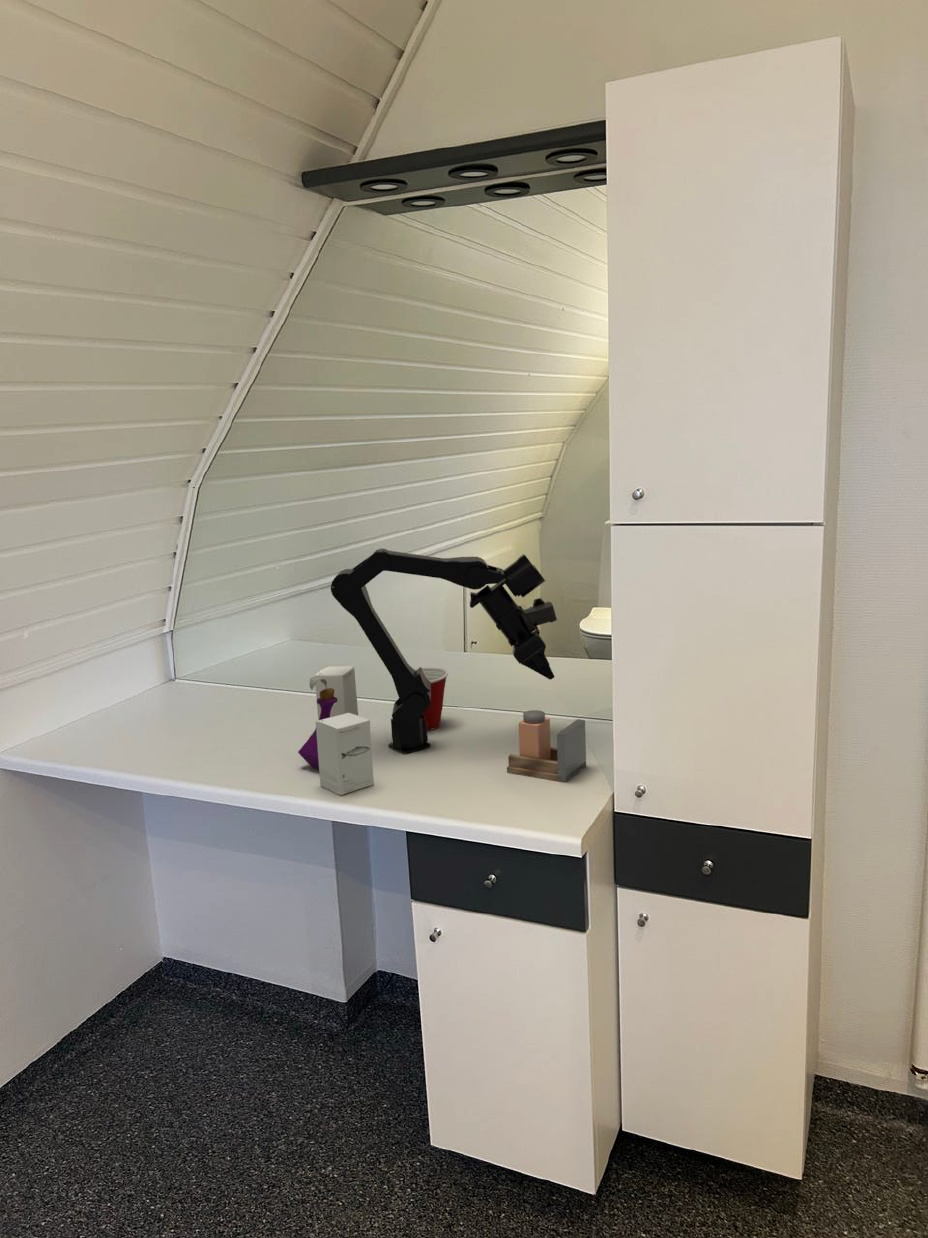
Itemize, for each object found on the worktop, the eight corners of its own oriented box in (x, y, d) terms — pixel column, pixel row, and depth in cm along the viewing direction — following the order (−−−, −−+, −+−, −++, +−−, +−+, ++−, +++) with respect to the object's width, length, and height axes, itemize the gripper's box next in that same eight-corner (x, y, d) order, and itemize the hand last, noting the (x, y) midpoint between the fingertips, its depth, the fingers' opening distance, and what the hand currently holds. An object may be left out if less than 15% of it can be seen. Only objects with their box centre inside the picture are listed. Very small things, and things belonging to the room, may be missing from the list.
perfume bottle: (327, 756, 188) (320, 669, 184) (353, 764, 183) (347, 674, 179) (298, 768, 182) (291, 678, 179) (324, 775, 177) (317, 683, 174)
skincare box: (348, 749, 192) (343, 675, 189) (318, 748, 193) (312, 675, 190) (361, 735, 200) (356, 664, 197) (331, 735, 201) (326, 664, 198)
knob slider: (519, 764, 175) (518, 716, 173) (532, 755, 179) (530, 708, 178) (539, 767, 173) (537, 718, 171) (550, 758, 177) (549, 711, 175)
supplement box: (340, 796, 167) (335, 728, 164) (319, 786, 172) (314, 720, 170) (375, 785, 171) (370, 719, 169) (353, 775, 177) (348, 711, 174)
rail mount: (507, 772, 175) (505, 726, 173) (529, 757, 182) (527, 712, 180) (565, 782, 168) (564, 734, 167) (586, 766, 176) (585, 720, 174)
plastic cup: (391, 727, 205) (387, 674, 202) (429, 715, 212) (426, 664, 209) (422, 737, 197) (419, 682, 194) (461, 725, 204) (458, 672, 201)
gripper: (541, 595, 176) (589, 660, 178) (532, 579, 194) (576, 638, 197) (493, 630, 177) (542, 694, 180) (489, 611, 195) (533, 669, 198)
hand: (550, 672), depth 188 cm, fingers open, 9 cm apart
